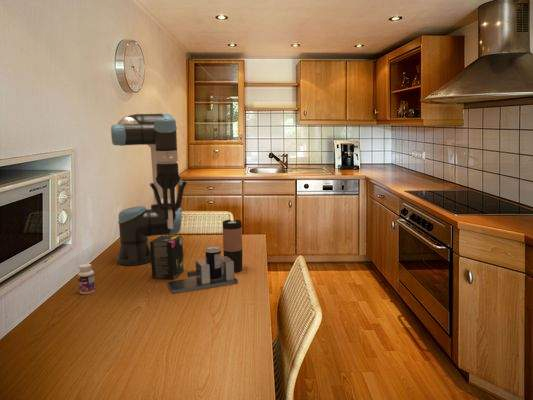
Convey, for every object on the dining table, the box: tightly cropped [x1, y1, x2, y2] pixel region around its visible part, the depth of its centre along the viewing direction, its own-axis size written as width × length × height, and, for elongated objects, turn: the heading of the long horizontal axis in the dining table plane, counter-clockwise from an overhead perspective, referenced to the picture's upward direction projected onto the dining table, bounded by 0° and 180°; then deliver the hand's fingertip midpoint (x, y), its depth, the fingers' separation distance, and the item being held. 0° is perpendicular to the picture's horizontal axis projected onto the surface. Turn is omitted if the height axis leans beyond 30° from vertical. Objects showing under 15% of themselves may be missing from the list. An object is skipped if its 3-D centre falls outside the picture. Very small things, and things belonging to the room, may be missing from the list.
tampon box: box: [149, 235, 185, 280], centre depth 182 cm, size 11×9×15 cm
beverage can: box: [204, 245, 222, 281], centre depth 172 cm, size 6×6×12 cm
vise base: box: [166, 255, 239, 295], centre depth 170 cm, size 10×24×8 cm, turn 114°
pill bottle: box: [77, 263, 96, 295], centre depth 165 cm, size 5×5×10 cm
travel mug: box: [222, 219, 243, 274], centre depth 185 cm, size 8×8×20 cm
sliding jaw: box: [187, 258, 210, 285], centre depth 170 cm, size 8×7×7 cm
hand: (170, 227), depth 168 cm, fingers closed
